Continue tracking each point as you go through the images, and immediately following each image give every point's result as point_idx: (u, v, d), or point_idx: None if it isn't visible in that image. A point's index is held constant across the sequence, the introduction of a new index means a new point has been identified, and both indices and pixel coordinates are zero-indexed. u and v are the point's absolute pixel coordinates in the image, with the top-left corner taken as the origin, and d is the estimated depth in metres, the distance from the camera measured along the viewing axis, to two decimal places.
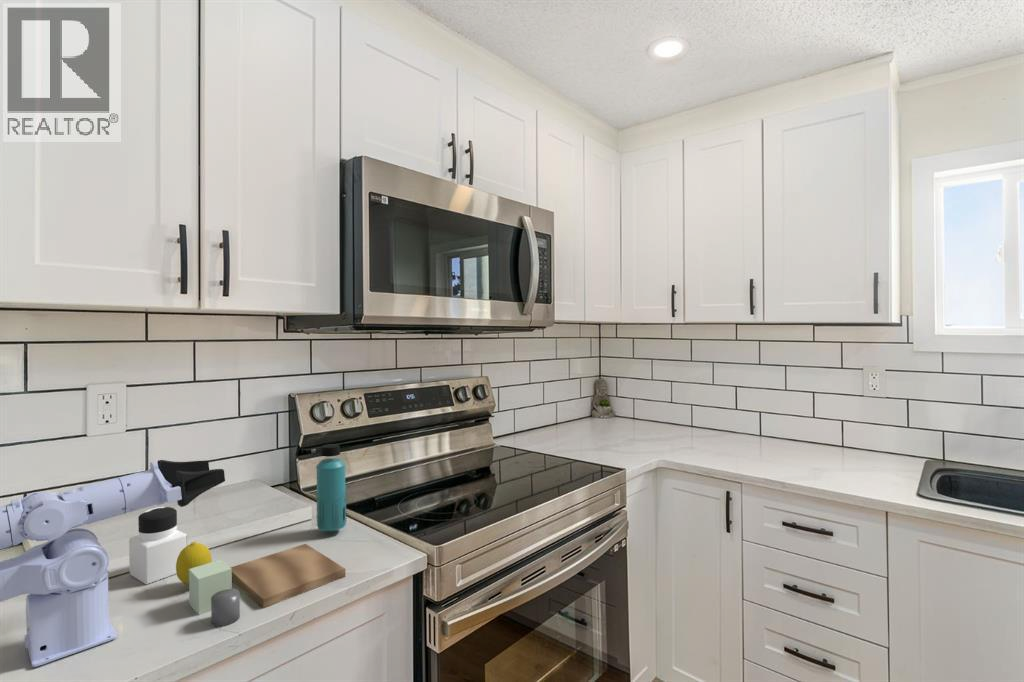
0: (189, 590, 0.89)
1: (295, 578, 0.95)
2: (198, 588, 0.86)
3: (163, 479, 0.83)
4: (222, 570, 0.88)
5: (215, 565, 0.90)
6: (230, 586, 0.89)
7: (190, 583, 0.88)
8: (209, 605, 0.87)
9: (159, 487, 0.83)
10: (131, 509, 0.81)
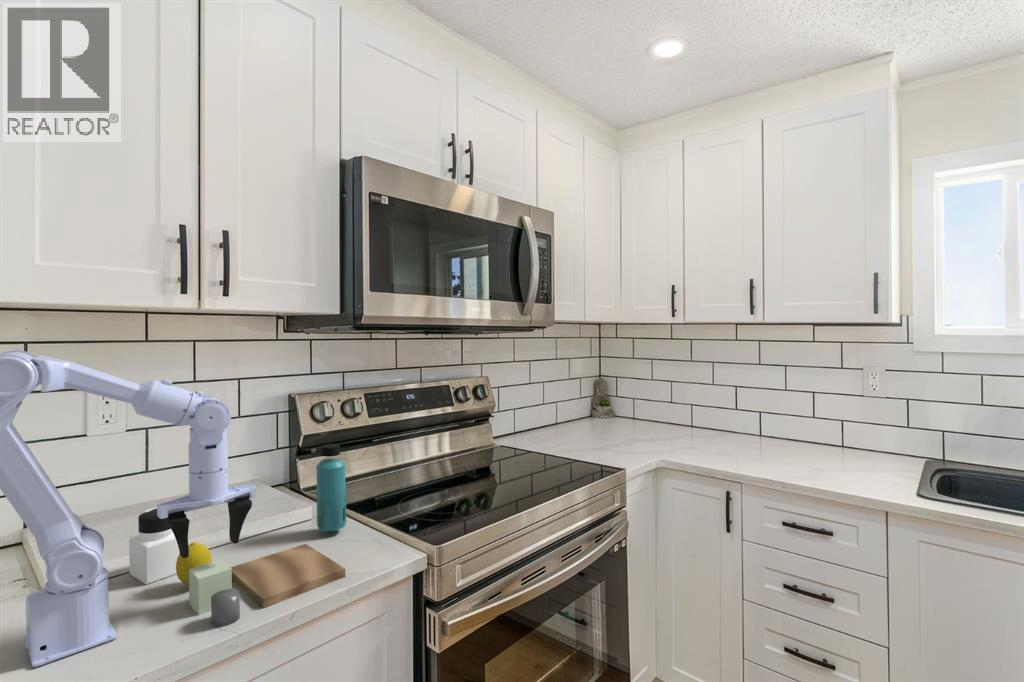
0: (189, 590, 0.89)
1: (295, 578, 0.95)
2: (198, 588, 0.86)
3: (188, 506, 0.84)
4: (222, 570, 0.88)
5: (215, 565, 0.90)
6: (230, 586, 0.89)
7: (190, 583, 0.88)
8: (209, 605, 0.87)
9: (190, 500, 0.86)
10: None
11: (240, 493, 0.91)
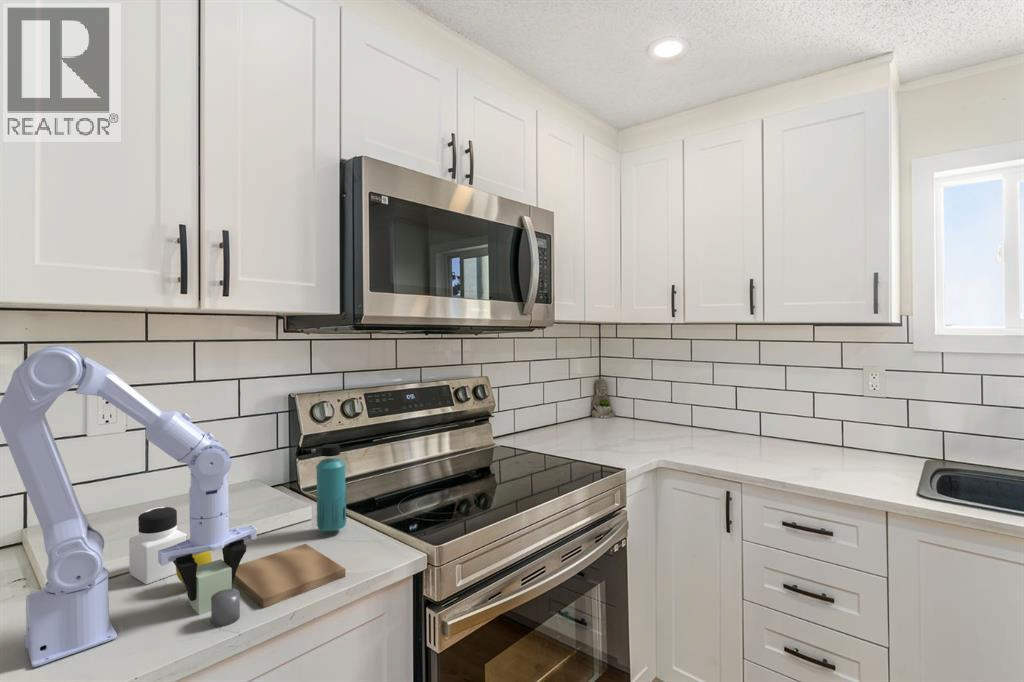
0: None
1: (295, 578, 0.95)
2: (198, 588, 0.86)
3: (188, 552, 0.85)
4: (222, 570, 0.88)
5: (215, 565, 0.90)
6: (230, 586, 0.89)
7: None
8: (209, 605, 0.87)
9: (191, 545, 0.86)
10: None
11: (241, 536, 0.91)
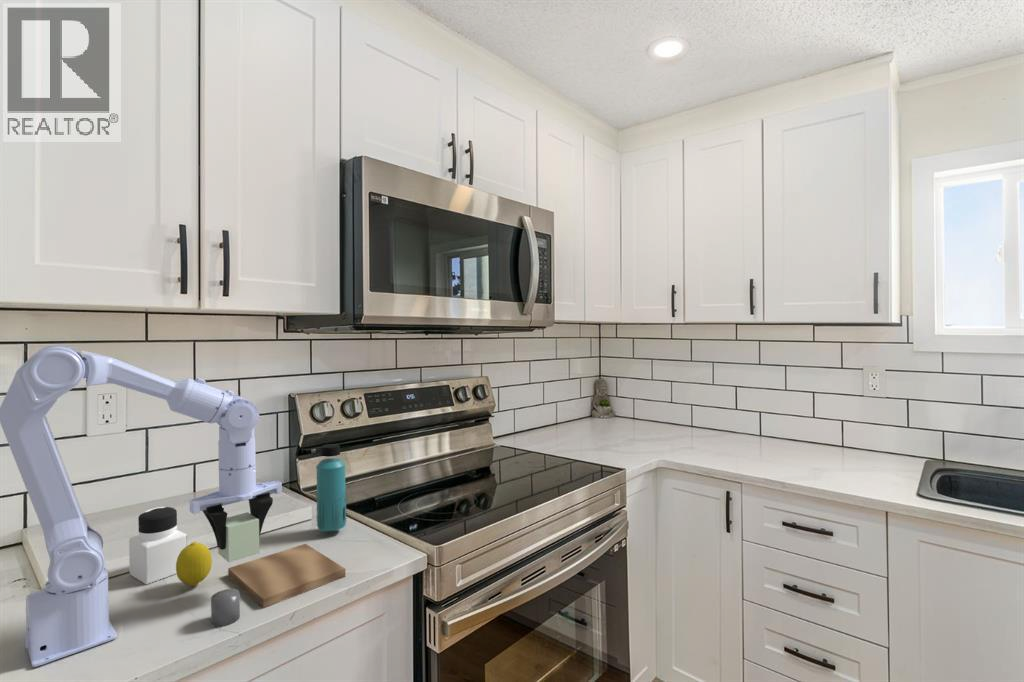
0: None
1: (295, 578, 0.95)
2: (228, 536, 0.89)
3: (218, 501, 0.88)
4: (250, 520, 0.91)
5: (243, 517, 0.93)
6: (258, 536, 0.92)
7: None
8: (238, 553, 0.90)
9: (220, 496, 0.89)
10: None
11: (267, 489, 0.94)
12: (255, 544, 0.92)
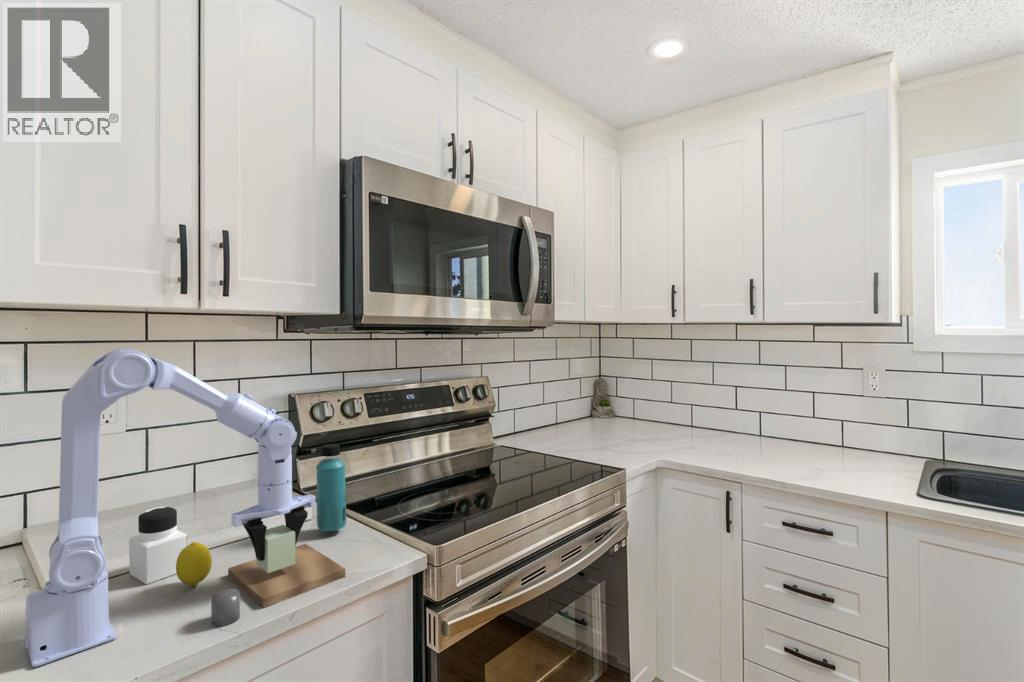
0: None
1: (295, 578, 0.95)
2: (267, 548, 0.94)
3: (258, 515, 0.93)
4: (287, 533, 0.96)
5: (280, 529, 0.98)
6: (294, 548, 0.97)
7: None
8: (276, 564, 0.95)
9: (260, 510, 0.94)
10: (260, 485, 0.96)
11: (302, 503, 0.99)
12: (291, 555, 0.97)
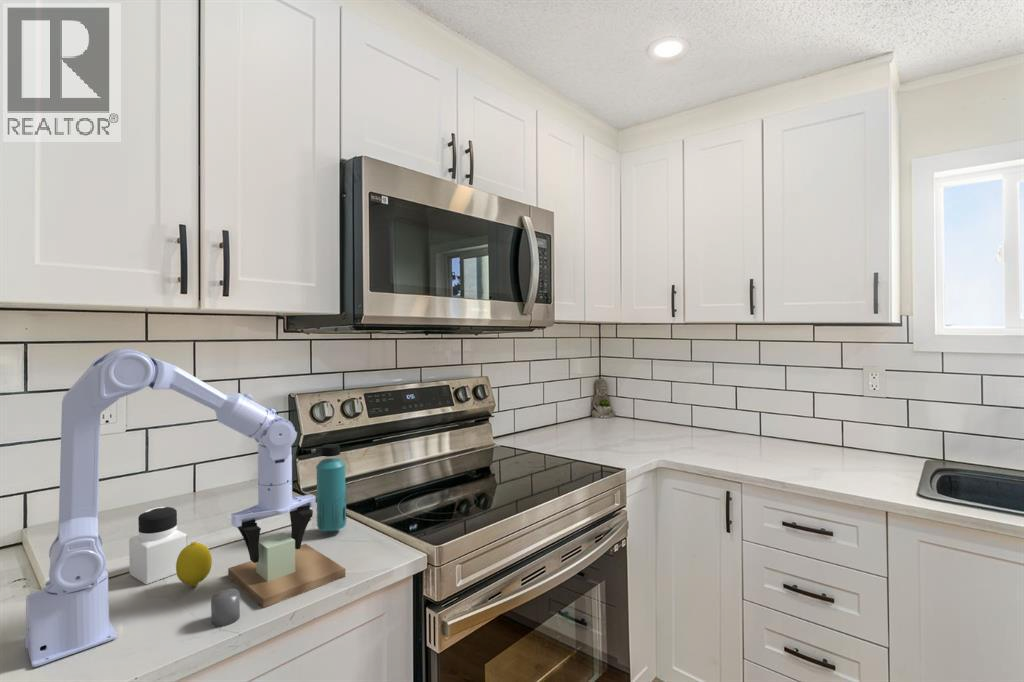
0: None
1: (295, 578, 0.95)
2: (267, 557, 0.94)
3: (258, 515, 0.93)
4: (287, 541, 0.96)
5: (279, 537, 0.98)
6: (294, 556, 0.97)
7: None
8: (276, 572, 0.95)
9: (260, 510, 0.94)
10: (260, 485, 0.96)
11: (302, 503, 0.99)
12: (291, 563, 0.97)
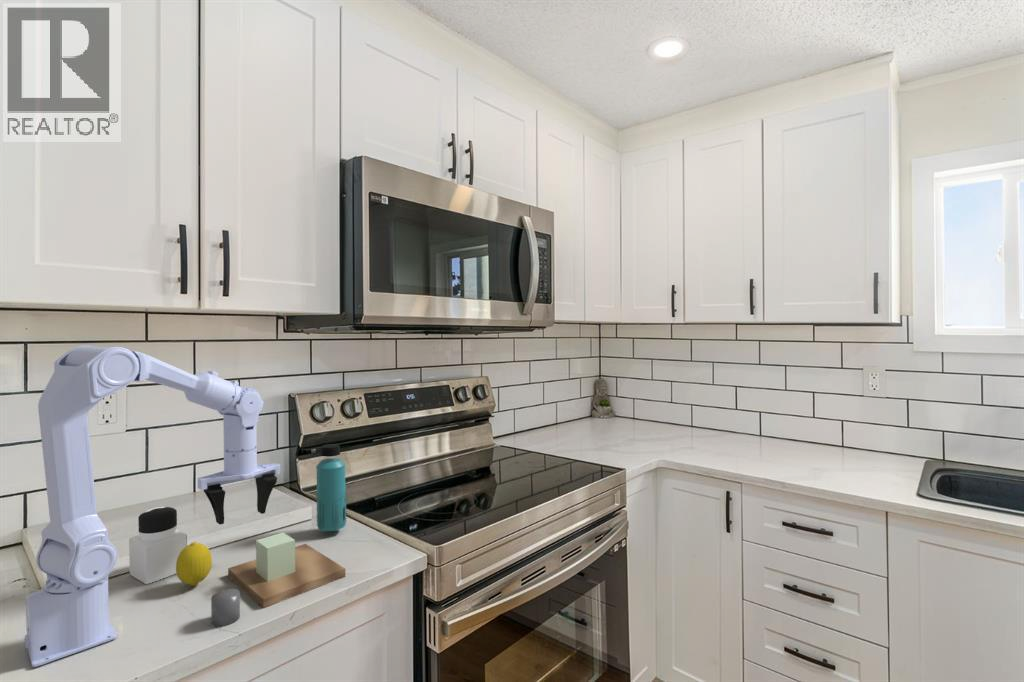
0: (256, 559, 0.97)
1: (295, 578, 0.95)
2: (267, 557, 0.94)
3: (223, 479, 0.98)
4: (287, 541, 0.96)
5: (279, 537, 0.98)
6: (294, 556, 0.97)
7: (257, 553, 0.96)
8: (276, 572, 0.95)
9: (225, 475, 1.00)
10: (226, 452, 1.02)
11: (267, 470, 1.05)
12: (291, 563, 0.97)
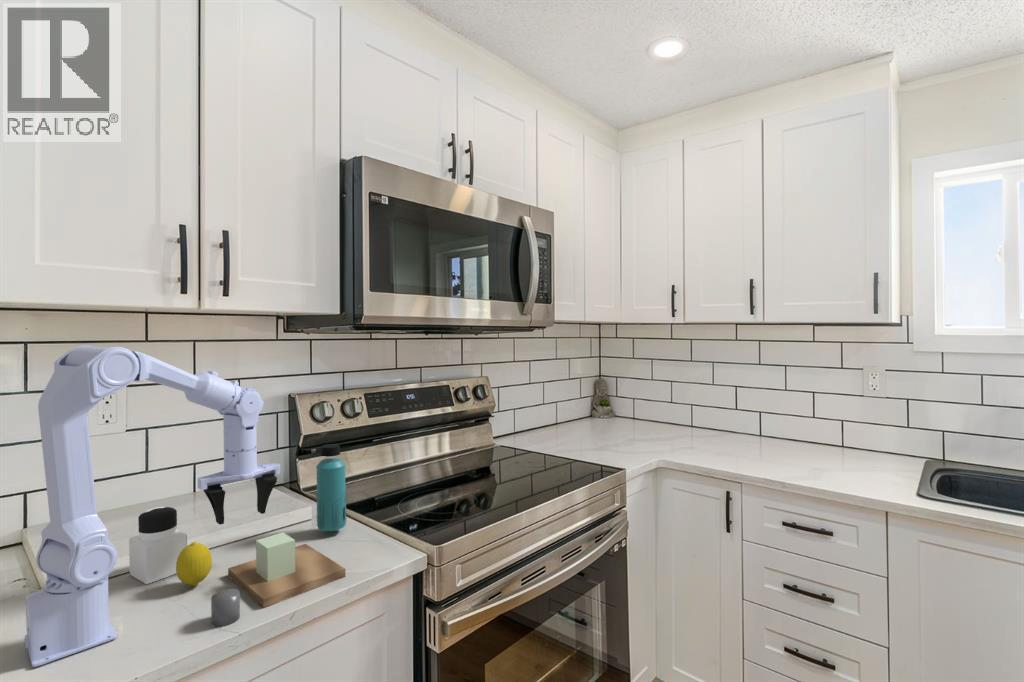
0: (256, 559, 0.97)
1: (295, 578, 0.95)
2: (267, 557, 0.94)
3: (223, 479, 0.98)
4: (287, 541, 0.96)
5: (279, 537, 0.98)
6: (294, 556, 0.97)
7: (257, 553, 0.96)
8: (276, 572, 0.95)
9: (225, 475, 1.00)
10: (226, 452, 1.02)
11: (267, 470, 1.05)
12: (291, 563, 0.97)
